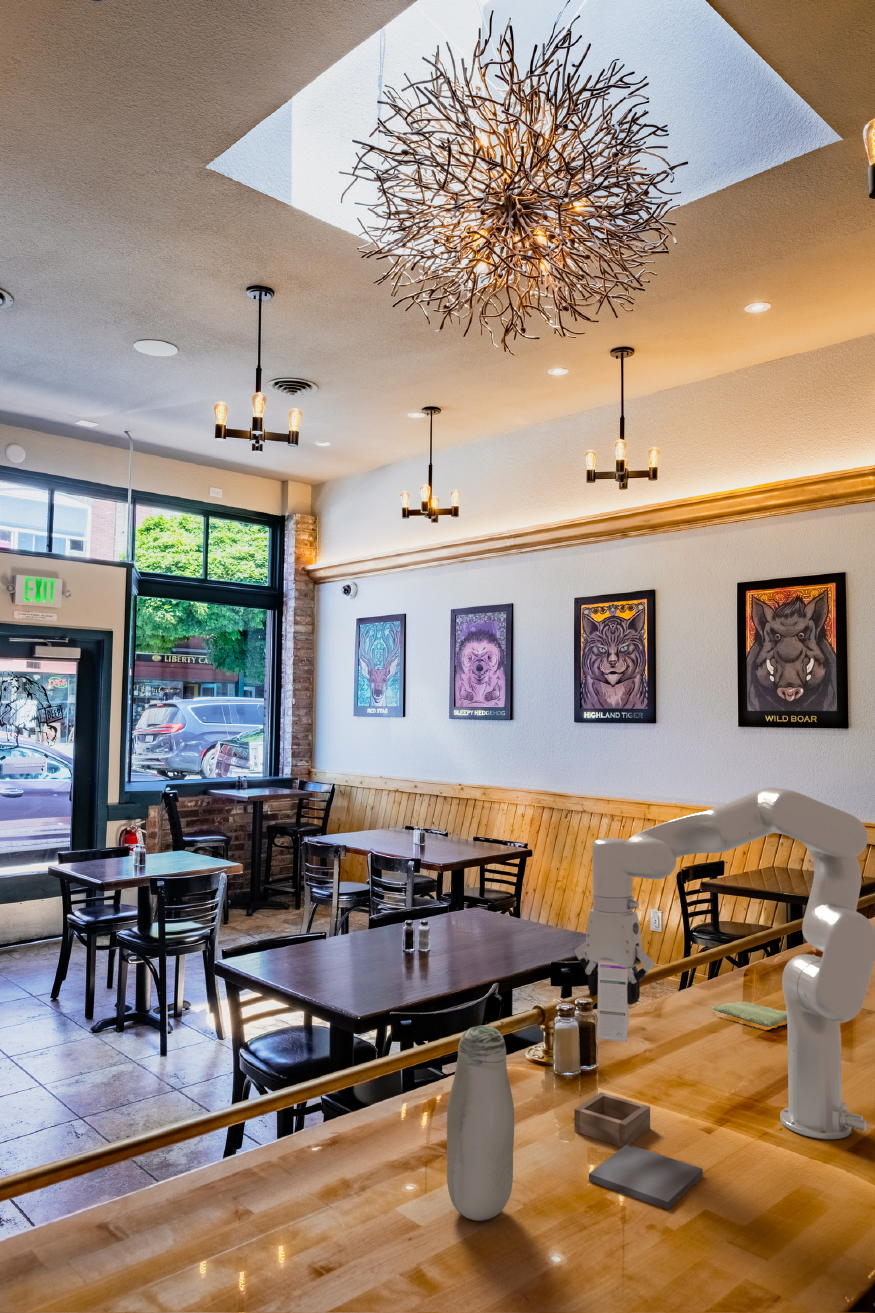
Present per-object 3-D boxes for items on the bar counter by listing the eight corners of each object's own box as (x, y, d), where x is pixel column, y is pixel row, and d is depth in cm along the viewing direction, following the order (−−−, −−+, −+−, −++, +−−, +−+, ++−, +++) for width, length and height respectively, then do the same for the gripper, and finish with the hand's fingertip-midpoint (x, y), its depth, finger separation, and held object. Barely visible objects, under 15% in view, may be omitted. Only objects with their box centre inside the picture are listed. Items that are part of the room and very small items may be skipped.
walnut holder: (650, 1128, 171) (650, 1106, 171) (625, 1148, 162) (625, 1125, 163) (601, 1113, 177) (601, 1092, 177) (574, 1131, 169) (574, 1109, 169)
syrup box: (627, 1043, 168) (630, 963, 169) (595, 1039, 169) (598, 960, 170) (628, 1033, 173) (630, 956, 174) (597, 1029, 174) (599, 953, 176)
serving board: (702, 1176, 153) (702, 1168, 153) (667, 1210, 142) (667, 1202, 142) (627, 1151, 161) (627, 1144, 161) (588, 1181, 150) (588, 1173, 150)
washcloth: (738, 1008, 247) (738, 996, 248) (797, 1025, 233) (796, 1012, 233) (708, 1016, 240) (708, 1004, 240) (767, 1035, 225) (767, 1022, 226)
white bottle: (493, 1239, 133) (495, 1043, 135) (434, 1218, 138) (437, 1030, 140) (523, 1209, 141) (524, 1025, 143) (467, 1191, 147) (469, 1014, 149)
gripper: (663, 907, 171) (665, 1003, 169) (582, 896, 181) (583, 986, 180) (646, 913, 165) (647, 1013, 163) (563, 901, 175) (563, 995, 174)
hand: (613, 998), depth 172 cm, fingers closed on syrup box, 7 cm apart
